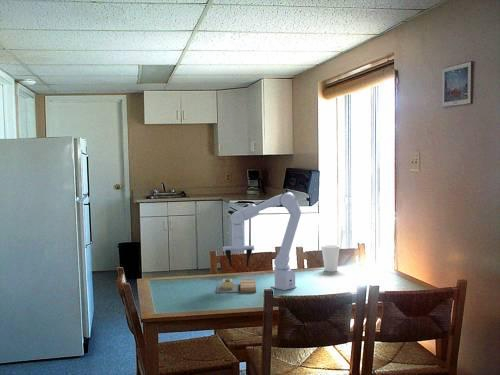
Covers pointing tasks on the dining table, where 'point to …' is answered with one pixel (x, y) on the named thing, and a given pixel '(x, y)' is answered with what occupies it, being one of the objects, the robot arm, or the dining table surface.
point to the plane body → (247, 286)
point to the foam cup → (330, 256)
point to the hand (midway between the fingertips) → (239, 265)
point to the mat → (220, 290)
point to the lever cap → (227, 284)
